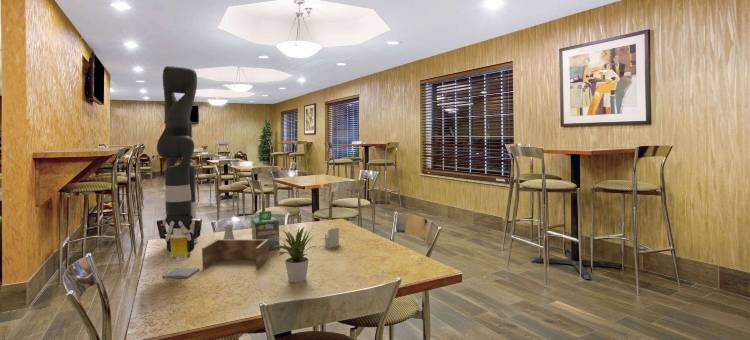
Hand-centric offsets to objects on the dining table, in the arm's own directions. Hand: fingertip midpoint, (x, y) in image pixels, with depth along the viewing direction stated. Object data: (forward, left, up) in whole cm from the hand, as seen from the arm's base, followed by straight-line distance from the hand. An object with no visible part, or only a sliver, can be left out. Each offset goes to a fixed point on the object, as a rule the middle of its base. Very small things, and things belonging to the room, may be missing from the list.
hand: (180, 251), depth 138 cm
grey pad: (0, 0, -7) cm, 7 cm away
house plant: (+38, -4, -8) cm, 39 cm away
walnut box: (+14, +11, -7) cm, 19 cm away
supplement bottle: (0, 0, -3) cm, 3 cm away
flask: (+5, +28, -8) cm, 29 cm away
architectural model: (+44, +35, -8) cm, 57 cm away
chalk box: (+18, +32, -8) cm, 37 cm away
